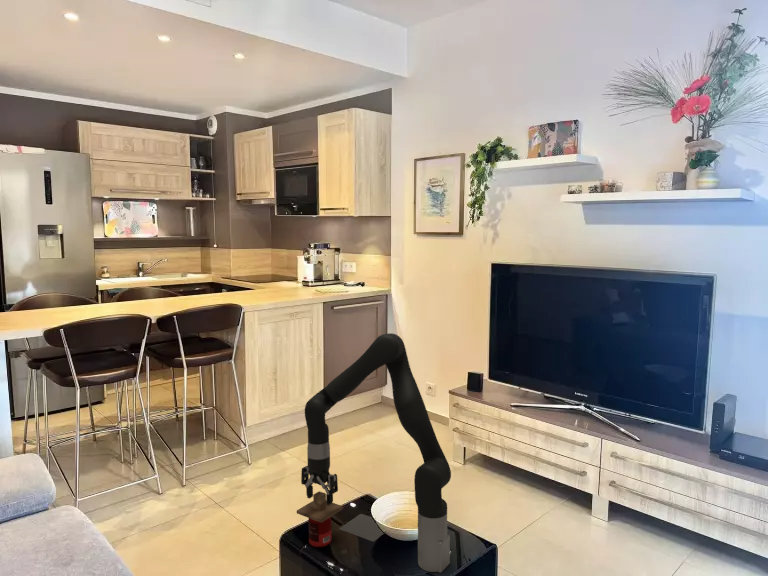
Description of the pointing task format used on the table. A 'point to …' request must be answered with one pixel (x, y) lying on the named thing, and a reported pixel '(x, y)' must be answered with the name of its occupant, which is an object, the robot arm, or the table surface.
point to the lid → (319, 508)
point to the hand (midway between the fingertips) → (319, 500)
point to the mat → (363, 528)
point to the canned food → (320, 532)
